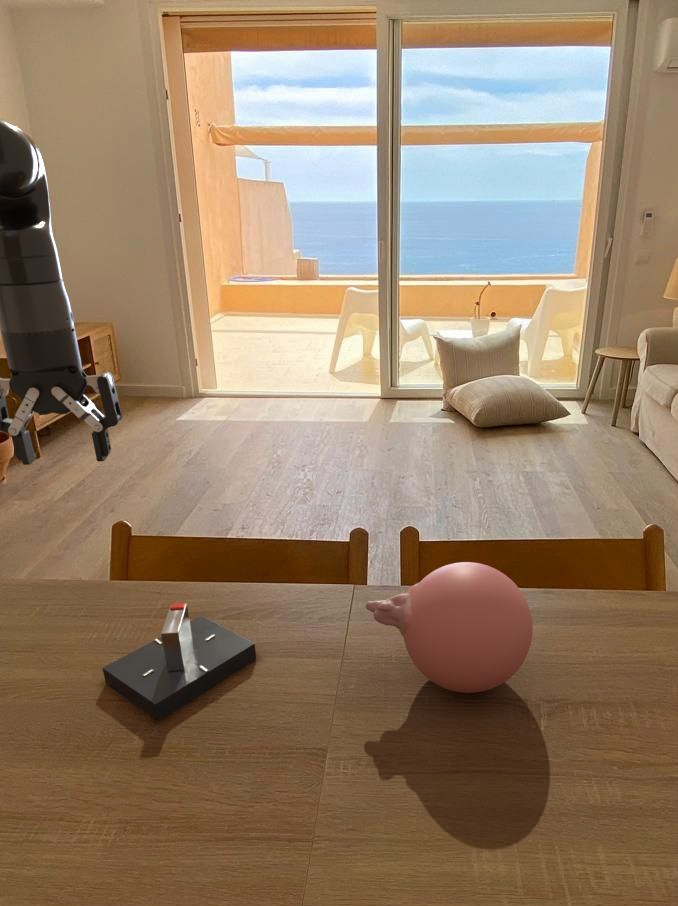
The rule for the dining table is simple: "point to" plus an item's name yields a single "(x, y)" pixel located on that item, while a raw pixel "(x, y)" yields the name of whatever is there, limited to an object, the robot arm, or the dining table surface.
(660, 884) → the dining table surface
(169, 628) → the tap handle
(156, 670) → the base
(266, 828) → the dining table surface
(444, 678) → the balloon
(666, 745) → the dining table surface
